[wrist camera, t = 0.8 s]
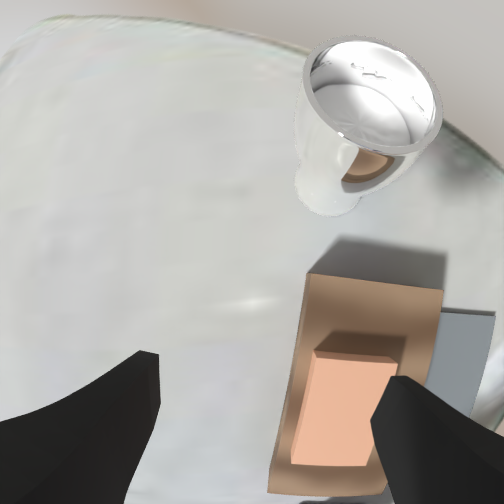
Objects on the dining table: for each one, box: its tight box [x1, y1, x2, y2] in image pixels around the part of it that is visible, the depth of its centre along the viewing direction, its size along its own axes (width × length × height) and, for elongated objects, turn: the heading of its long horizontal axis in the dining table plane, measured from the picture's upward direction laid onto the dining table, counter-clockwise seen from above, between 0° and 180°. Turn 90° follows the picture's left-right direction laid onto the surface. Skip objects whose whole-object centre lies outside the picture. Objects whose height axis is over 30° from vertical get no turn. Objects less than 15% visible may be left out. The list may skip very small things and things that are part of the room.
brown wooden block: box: [267, 273, 444, 497], centre depth 22 cm, size 20×11×4 cm, turn 172°
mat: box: [424, 312, 496, 418], centre depth 23 cm, size 16×10×1 cm, turn 172°
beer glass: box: [294, 35, 443, 217], centre depth 18 cm, size 7×7×15 cm
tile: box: [291, 350, 398, 466], centre depth 19 cm, size 9×6×2 cm, turn 172°
